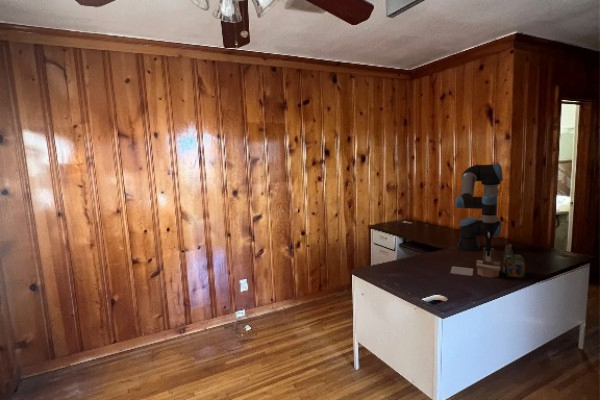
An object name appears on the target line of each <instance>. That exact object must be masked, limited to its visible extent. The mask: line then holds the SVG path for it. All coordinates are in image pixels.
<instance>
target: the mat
mask: <svg viewBox="0 0 600 400" xmlns="http://www.w3.org/2000/svg"><path fill="white" fill-rule="evenodd" d="M473 273H474V268H471V267H470V268H469V267H460V266H451V269H450V272H449V274H454V275H462V276H463V275H464V276H471V277H472V276H473Z"/></svg>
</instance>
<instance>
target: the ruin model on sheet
mask: <svg viewBox="0 0 600 400" xmlns="http://www.w3.org/2000/svg"><path fill="white" fill-rule="evenodd" d="M512 246H513V244H511V243H507V244H506V245H505V248H504V254H512V252H511V250H512V251H513V249H512Z"/></svg>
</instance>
